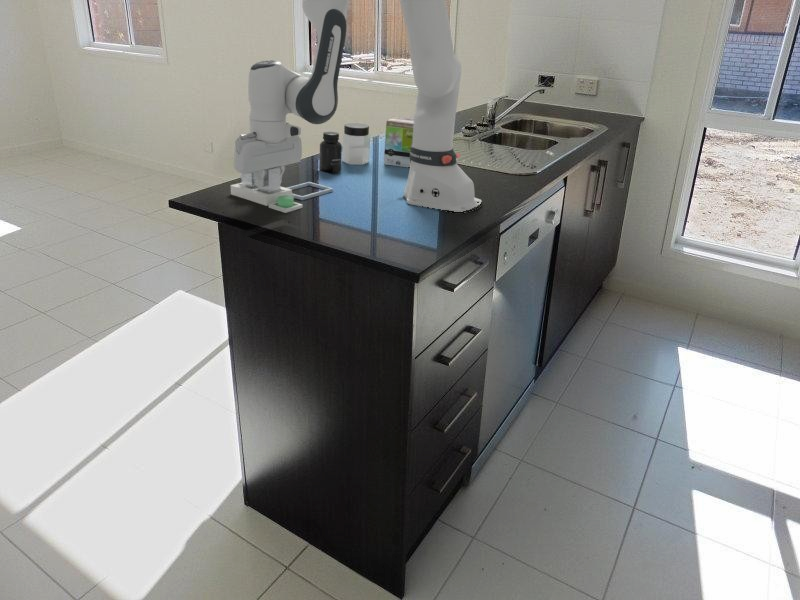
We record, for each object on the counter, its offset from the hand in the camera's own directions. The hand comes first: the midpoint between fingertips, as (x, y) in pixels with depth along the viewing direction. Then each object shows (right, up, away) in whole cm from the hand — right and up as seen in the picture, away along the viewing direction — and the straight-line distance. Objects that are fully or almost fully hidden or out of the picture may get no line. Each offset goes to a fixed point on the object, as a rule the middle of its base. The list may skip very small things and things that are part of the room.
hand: (269, 184), depth 162 cm
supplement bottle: (+12, +10, +35) cm, 38 cm away
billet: (0, -2, +1) cm, 2 cm away
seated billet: (-6, -1, +5) cm, 8 cm away
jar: (+19, +16, +48) cm, 54 cm away
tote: (+8, -1, +10) cm, 13 cm away
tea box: (+37, +16, +49) cm, 63 cm away
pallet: (-3, -4, +4) cm, 6 cm away
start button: (+5, -7, -4) cm, 9 cm away
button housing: (+5, -8, -3) cm, 10 cm away
